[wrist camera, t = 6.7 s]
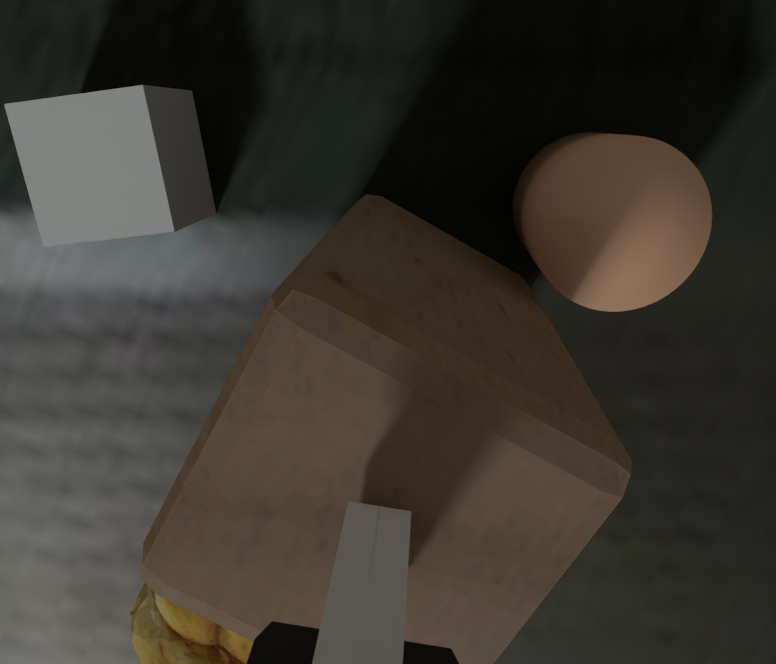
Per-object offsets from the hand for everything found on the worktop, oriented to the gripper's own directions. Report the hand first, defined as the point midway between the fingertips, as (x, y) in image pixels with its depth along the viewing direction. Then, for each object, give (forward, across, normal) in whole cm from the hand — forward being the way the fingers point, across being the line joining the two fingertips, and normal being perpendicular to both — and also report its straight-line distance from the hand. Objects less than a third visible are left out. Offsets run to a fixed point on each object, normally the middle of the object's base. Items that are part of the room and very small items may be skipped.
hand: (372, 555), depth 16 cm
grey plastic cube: (+21, -14, +6) cm, 26 cm away
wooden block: (+21, 0, 0) cm, 21 cm away
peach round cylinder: (+21, +8, +7) cm, 23 cm away
